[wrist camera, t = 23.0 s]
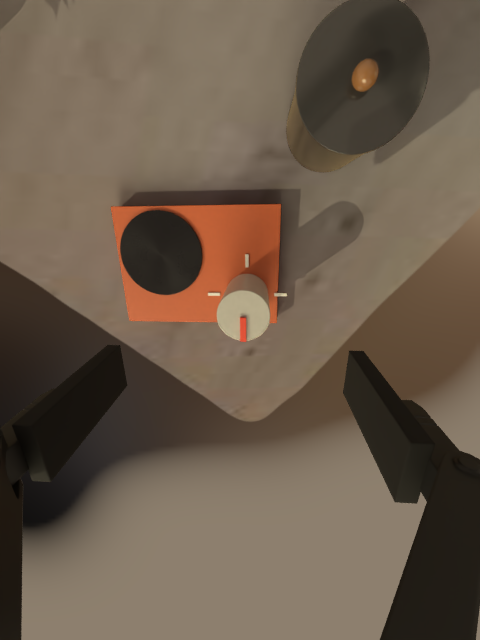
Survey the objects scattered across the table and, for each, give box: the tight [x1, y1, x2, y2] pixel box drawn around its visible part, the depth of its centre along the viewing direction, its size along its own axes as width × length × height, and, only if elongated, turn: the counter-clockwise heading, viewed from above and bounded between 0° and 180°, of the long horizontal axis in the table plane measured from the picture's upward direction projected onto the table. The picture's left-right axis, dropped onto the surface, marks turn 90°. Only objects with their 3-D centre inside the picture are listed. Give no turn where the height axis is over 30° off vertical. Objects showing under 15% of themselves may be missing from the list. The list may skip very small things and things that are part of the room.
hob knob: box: [217, 274, 270, 342], centre depth 28 cm, size 5×5×8 cm
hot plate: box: [111, 204, 287, 323], centre depth 32 cm, size 19×14×2 cm
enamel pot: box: [286, 0, 429, 173], centre depth 22 cm, size 8×8×11 cm
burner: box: [120, 210, 202, 295], centre depth 30 cm, size 9×9×1 cm
